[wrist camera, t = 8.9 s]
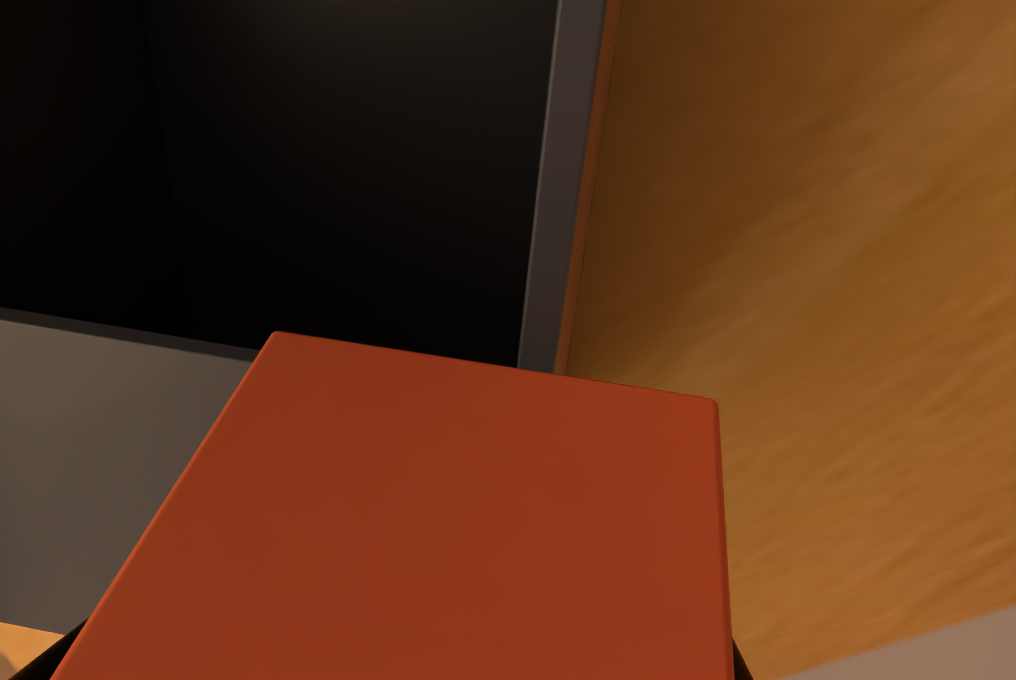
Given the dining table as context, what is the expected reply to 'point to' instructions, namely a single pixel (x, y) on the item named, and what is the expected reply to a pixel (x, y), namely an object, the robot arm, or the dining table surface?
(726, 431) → the dining table surface
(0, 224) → the carton
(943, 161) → the dining table surface
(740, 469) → the dining table surface
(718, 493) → the block
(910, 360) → the dining table surface
